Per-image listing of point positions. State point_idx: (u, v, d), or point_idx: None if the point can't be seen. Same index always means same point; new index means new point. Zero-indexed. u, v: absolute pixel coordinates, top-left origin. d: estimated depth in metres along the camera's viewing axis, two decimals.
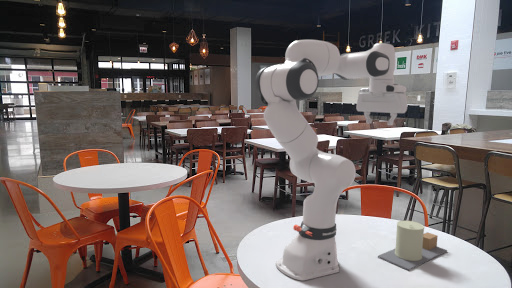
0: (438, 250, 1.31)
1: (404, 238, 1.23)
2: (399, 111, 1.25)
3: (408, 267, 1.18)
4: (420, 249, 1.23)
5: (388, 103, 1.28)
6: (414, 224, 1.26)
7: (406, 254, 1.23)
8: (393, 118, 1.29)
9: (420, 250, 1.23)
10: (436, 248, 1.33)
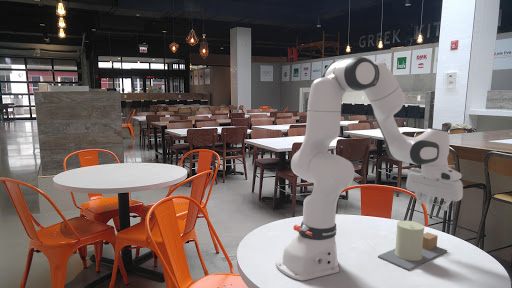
0: (438, 250, 1.31)
1: (404, 238, 1.23)
2: (455, 199, 1.24)
3: (408, 267, 1.18)
4: (420, 249, 1.23)
5: (443, 190, 1.27)
6: (414, 224, 1.26)
7: (406, 254, 1.23)
8: (448, 204, 1.28)
9: (420, 250, 1.23)
10: (436, 248, 1.33)
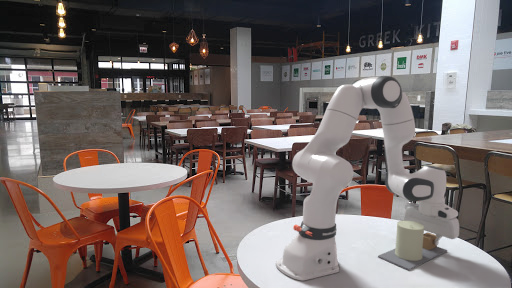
0: (438, 250, 1.31)
1: (404, 238, 1.23)
2: (452, 237, 1.25)
3: (408, 267, 1.18)
4: (420, 249, 1.23)
5: (440, 227, 1.29)
6: (414, 224, 1.26)
7: (406, 254, 1.23)
8: (439, 239, 1.31)
9: (420, 250, 1.23)
10: (436, 248, 1.33)
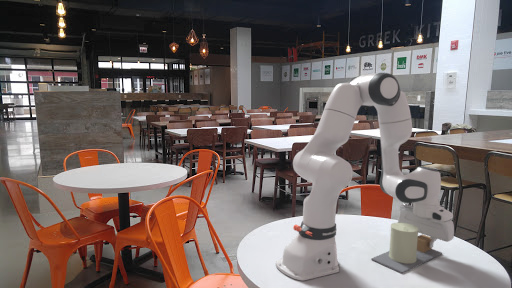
0: (433, 253, 1.29)
1: (398, 241, 1.21)
2: (446, 240, 1.23)
3: (402, 270, 1.15)
4: (414, 252, 1.21)
5: (434, 229, 1.26)
6: (408, 226, 1.24)
7: (400, 257, 1.21)
8: (433, 241, 1.29)
9: (414, 253, 1.21)
10: (431, 250, 1.31)
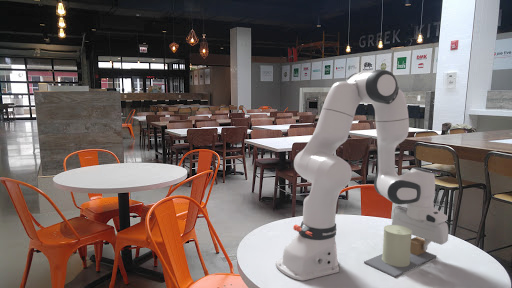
0: (427, 255, 1.26)
1: (391, 243, 1.18)
2: (440, 243, 1.21)
3: (394, 274, 1.13)
4: (407, 255, 1.18)
5: (428, 232, 1.24)
6: (402, 229, 1.22)
7: (393, 260, 1.18)
8: (427, 244, 1.26)
9: (407, 256, 1.18)
10: (425, 253, 1.28)
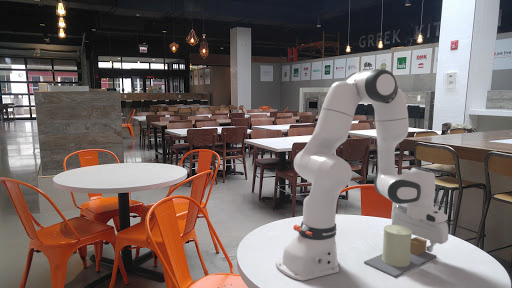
0: (427, 255, 1.26)
1: (391, 243, 1.18)
2: (440, 242, 1.21)
3: (394, 274, 1.13)
4: (407, 255, 1.18)
5: (428, 231, 1.24)
6: (402, 229, 1.22)
7: (393, 260, 1.18)
8: (433, 245, 1.25)
9: (407, 256, 1.18)
10: (425, 253, 1.28)
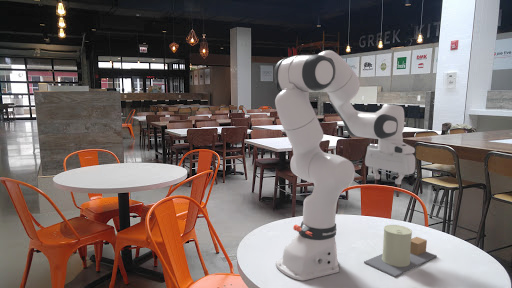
0: (427, 255, 1.27)
1: (391, 243, 1.18)
2: (407, 172, 1.27)
3: (395, 274, 1.13)
4: (408, 255, 1.18)
5: (397, 163, 1.30)
6: (402, 229, 1.22)
7: (393, 260, 1.18)
8: (401, 178, 1.31)
9: (408, 256, 1.18)
10: (425, 253, 1.28)
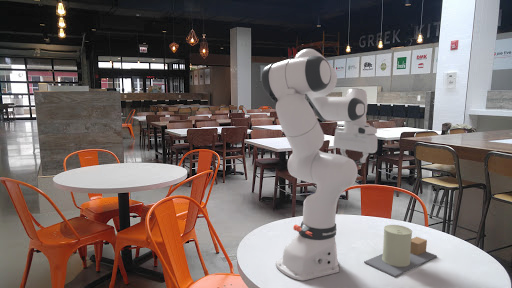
0: (427, 255, 1.27)
1: (391, 243, 1.18)
2: (370, 151, 1.37)
3: (395, 273, 1.13)
4: (408, 255, 1.18)
5: (361, 143, 1.41)
6: (402, 228, 1.22)
7: (393, 260, 1.18)
8: (365, 156, 1.41)
9: (408, 256, 1.18)
10: (425, 253, 1.28)
